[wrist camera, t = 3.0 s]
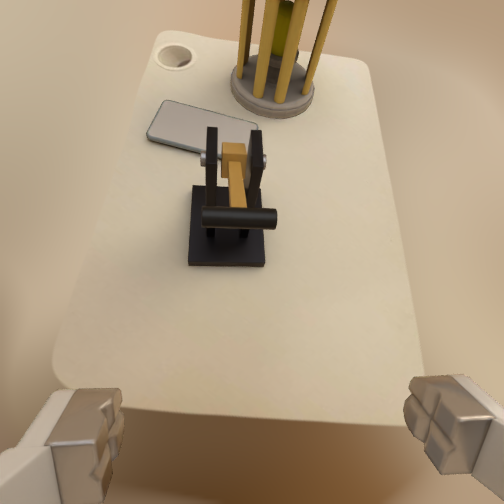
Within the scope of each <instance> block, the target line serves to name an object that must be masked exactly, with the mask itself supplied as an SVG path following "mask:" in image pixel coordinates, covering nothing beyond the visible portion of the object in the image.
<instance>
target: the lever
mask: <svg viewBox="0 0 504 504" xmlns="http://www.w3.org/2000/svg"><path fill="white" fill-rule="evenodd" d="M246 163H247V151H246V146H245V143H232V142H222V152H221V178H228V186H229V203H230V207H222V206H202V227H207V228H238V229H269V230H274V229H275V228H276V225H277V211H276V209H270V208H247V204H246V197H245V190H244V183H243V179H245V174H246Z"/></svg>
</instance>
